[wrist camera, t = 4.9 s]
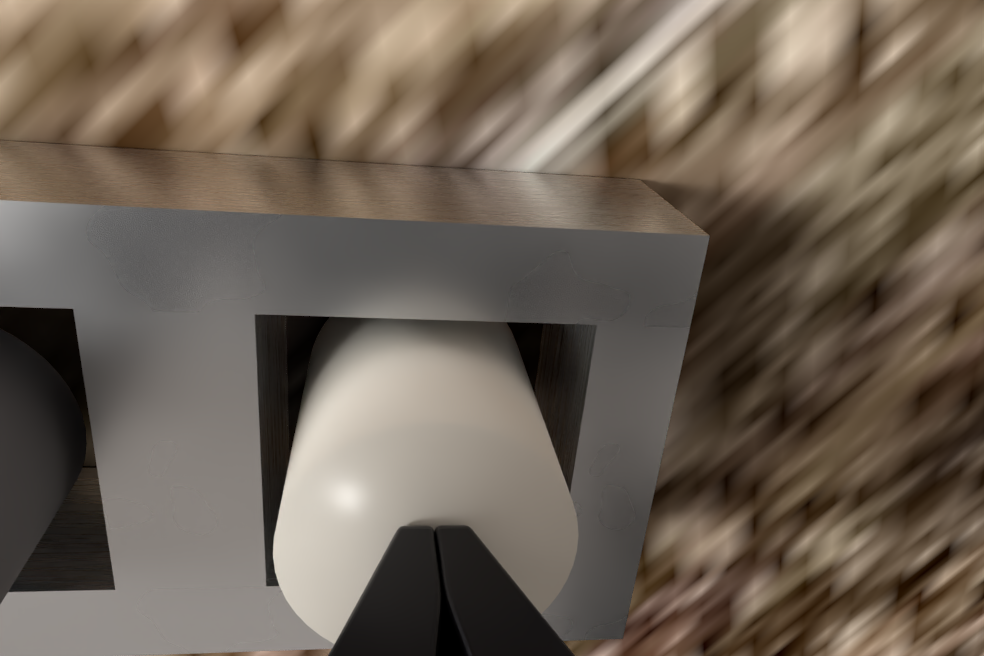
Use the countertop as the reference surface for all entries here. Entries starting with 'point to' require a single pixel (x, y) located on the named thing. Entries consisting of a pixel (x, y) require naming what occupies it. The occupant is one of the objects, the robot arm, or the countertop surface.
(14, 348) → the button charcoal
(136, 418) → the button strip
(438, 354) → the button ivory
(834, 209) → the countertop surface
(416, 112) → the countertop surface
